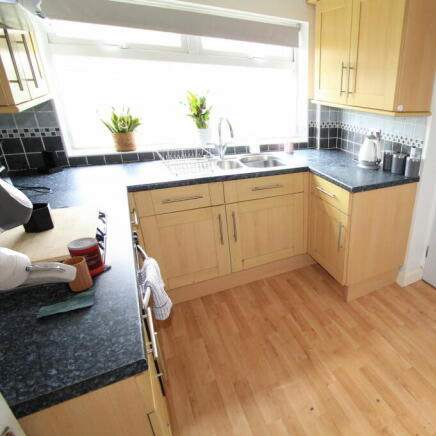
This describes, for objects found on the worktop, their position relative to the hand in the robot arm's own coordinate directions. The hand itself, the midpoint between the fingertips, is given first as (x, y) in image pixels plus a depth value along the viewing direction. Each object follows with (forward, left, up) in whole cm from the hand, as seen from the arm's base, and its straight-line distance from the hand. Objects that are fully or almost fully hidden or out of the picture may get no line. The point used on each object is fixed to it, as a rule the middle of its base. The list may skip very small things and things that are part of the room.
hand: (45, 280), depth 84 cm
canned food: (-1, +20, -11) cm, 23 cm away
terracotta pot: (0, +12, -10) cm, 16 cm away
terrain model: (+2, +1, -11) cm, 11 cm away
